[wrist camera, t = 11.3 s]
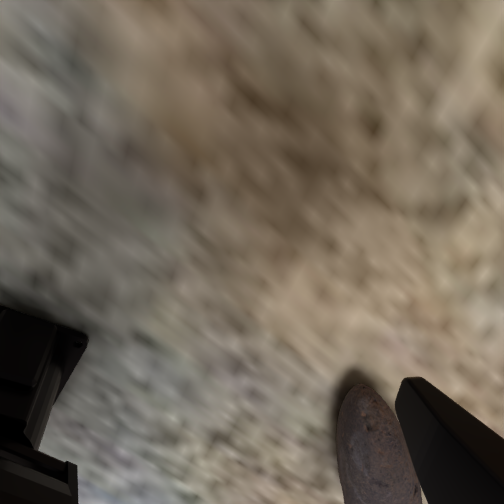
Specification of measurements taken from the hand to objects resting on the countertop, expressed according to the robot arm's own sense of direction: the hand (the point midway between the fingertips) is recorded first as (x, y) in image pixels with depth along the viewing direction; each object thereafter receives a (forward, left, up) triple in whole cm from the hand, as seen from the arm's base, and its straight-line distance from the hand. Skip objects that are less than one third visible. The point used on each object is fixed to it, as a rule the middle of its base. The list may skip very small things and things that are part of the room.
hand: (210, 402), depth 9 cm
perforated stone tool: (-11, -20, -13) cm, 27 cm away
